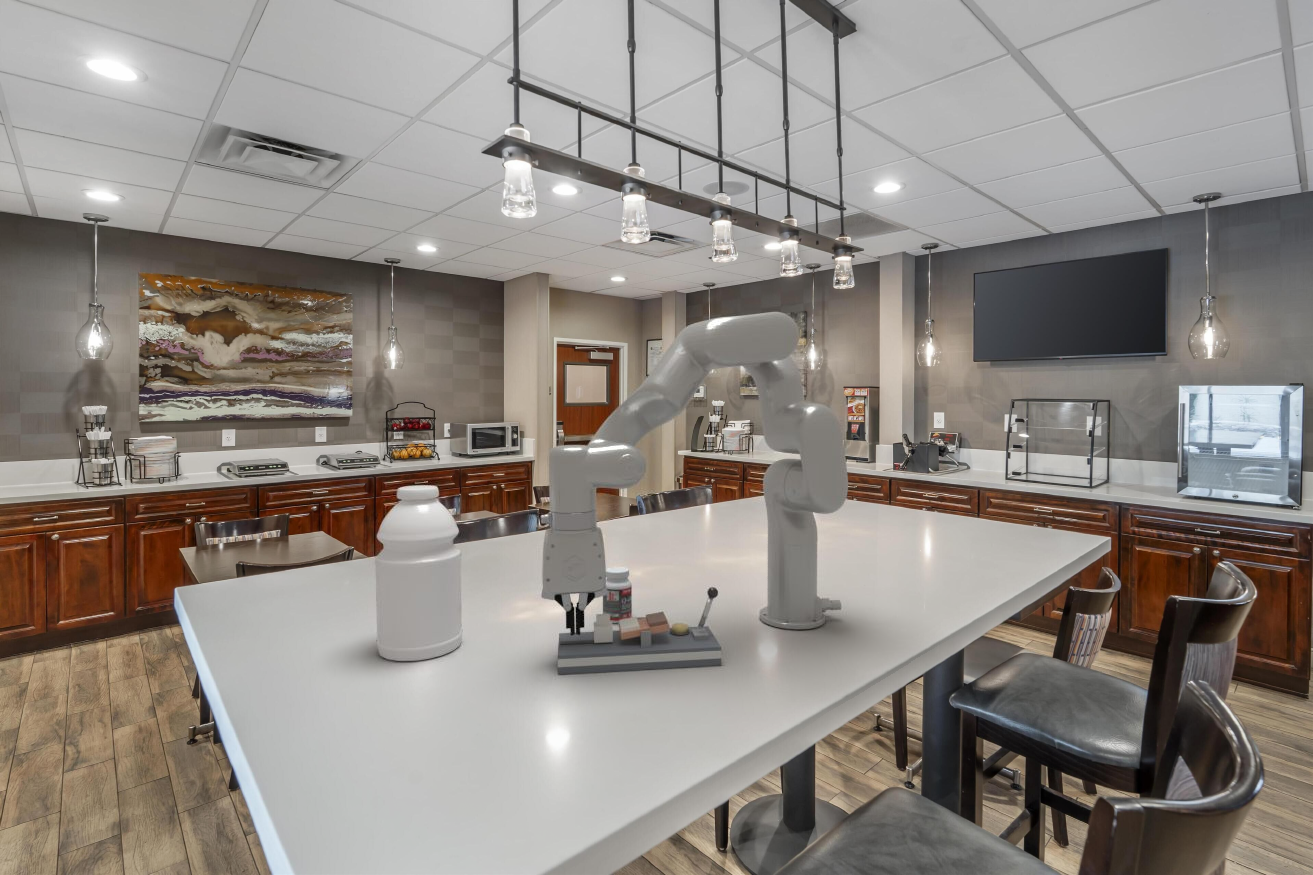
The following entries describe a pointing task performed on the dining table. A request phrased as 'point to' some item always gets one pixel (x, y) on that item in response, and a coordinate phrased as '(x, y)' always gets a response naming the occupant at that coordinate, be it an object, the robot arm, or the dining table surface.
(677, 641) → the console
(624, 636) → the rocker
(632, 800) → the dining table surface
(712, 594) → the lever
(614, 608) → the pill bottle
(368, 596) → the dining table surface
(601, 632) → the slider
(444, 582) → the bottle
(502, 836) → the dining table surface
